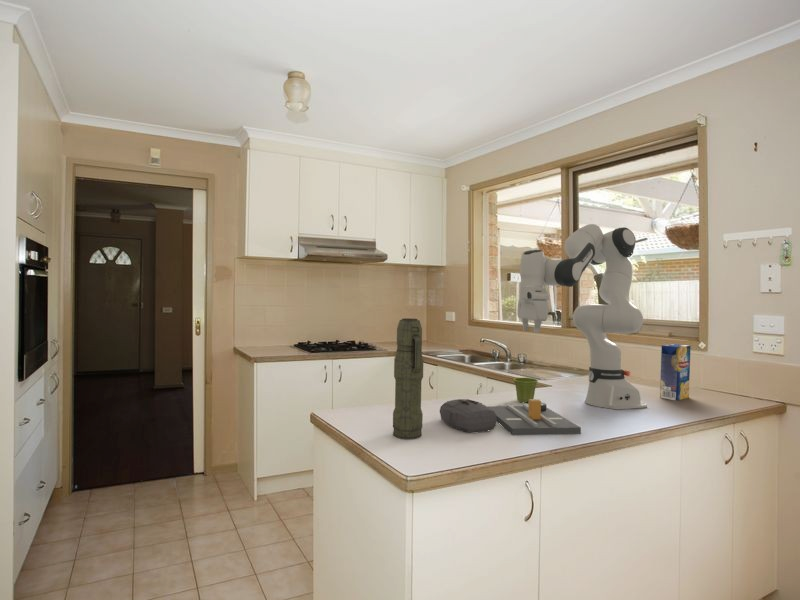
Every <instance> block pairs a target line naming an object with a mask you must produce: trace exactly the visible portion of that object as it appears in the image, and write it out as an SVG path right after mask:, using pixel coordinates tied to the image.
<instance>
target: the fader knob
mask: <svg viewBox="0 0 800 600" xmlns="http://www.w3.org/2000/svg"><path fill="white" fill-rule="evenodd" d="M541 402H542V401H541V400H540V399H539V398H534V399H529V403H527V405H528V417H529V418H530V419H532V420H540V419H541Z"/></svg>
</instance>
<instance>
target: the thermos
mask: <svg viewBox="0 0 800 600" xmlns="http://www.w3.org/2000/svg"><path fill="white" fill-rule="evenodd" d="M422 343H423V327H422V323H421V320H419V319H418V318H405V317H404V318H401V319H400V320H399V321H398V324H397V328H396V346H397V347H396V353H395V357H394V359H393V361H394V362H393V377H394V380H395V387H394V388H395V389H394V391H395V392H394V410H393V412H392V429H393V430H392V436H393V437H394V438H397V439H400V440H416V439H419V438H421V437H422V433H423V432H422V429H423V415H424V414H423V411H422V381H423V378H424V357H423V352H422V351H423V350H422V347H423V346H422V345H423V344H422Z"/></svg>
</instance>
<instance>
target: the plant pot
mask: <svg viewBox="0 0 800 600" xmlns="http://www.w3.org/2000/svg"><path fill="white" fill-rule="evenodd" d="M513 381H514V385H515V390H516V400H517V402H519V401H520V403H523V402H524V403H527V404H529V399H535V398H534V397H535V392H536V386H537V384H538V382H539V380H538V379H536V378H533V377H515V378H513Z"/></svg>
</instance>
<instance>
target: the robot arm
mask: <svg viewBox="0 0 800 600" xmlns="http://www.w3.org/2000/svg"><path fill="white" fill-rule="evenodd" d="M636 244H637V243H636V237H635V234H634V232H633V231H632V230H631V229H629V228H627V227H626V226H625V227H618V228H615V229H614V230H611V231H609V232H606V233H604V231H603V229H602V227H600V226H599V225H597V224H594V223H590V224H586V225H584V226H582V227H579V228H578V229H577V230H575V231H574V232H572V234H570V235H569V236H568V237H567V238H566V239H565V242H564V252H565V254H566V255H567V257H568V258H563V259H560V258H559V259H550V258H548V257H546V256H545V253H544V250H541V249H532V250H530V249H529V250H526V251H524V252H522V255H521V258H520V265H519V267H520V268H519V275H520V283H519V298H518V300H517V302H518V303H517V310H516V311H517V317H518V318H520V319H521V323H522V330H523V331H524V332H525V331H526V332H527V331H528V332H529V331H530V326H529V320H530V321H533V324H534V327H533V328H532V332H533V333H534V334H539V333H540V328H541V325H542V322H546V321H547V320H548V317H549V316H548V314H549V302H548V301H549V300H550V293H549V292H547V290H546V289H545V286H559V287H560V286H561V287H569V288H570V287H574V286H575V285H577V284H578V282H579V281H580V279H581V277H582V275H583V273H584V272H585V270H586V269H587V268H588V267H589V265H592V266H597V265H603V264H604V263H605V270H604V271H603V276H602V278H601V282H600V286H599V289H598V295H599V296H600V298H601V300H603V301H604V302H605V303H606V304H598V303H597V304H594V303H590V304H582V305H579V306H578V305H577V307H576V308H575V310H574V311H573V314H572V321H573V324H574V326H575V328H577V329H578V330H579V331H580V332H581V333H582V334H583V335H584V336H585V338H586V340H587V343H588V345H589V350H590V351H589V354H590V355H589V357H590V361H589V362H590V364H589V367H588V387H587V388H588V390H587V393H586V397H585V399H584V403H586V404H587V405H591V406H594V407H600V408H607V409H613V410H628V409H642V408H643V409H645V408H647V407H648V405H647V403H646V402H645V401H642V400H641V393H640V390H639V389H638V388H637V387H636V386H634V385H633V384H632V383H631V382H630V381H629V380H627V379H626V377H630V376H631V371H630V370H627V369H625V370H624V369H622V368H621V367H622V350H621V348H620V347H619V345H618V344H616V343H614V342H612V341H611V340H609V338H608V337H607V334H617V335H618V334H620V335H624V334H625V335H626V334H627V335H628V334H634V333H635V334H636V333H637V332H639V331H640V329H642V327H643V324H644V316H643V314H642V312H641V310H640V309H639V308H638V307H636V306H635V305H634V304H633V303H632V302H631V300H630V292H631V291H630V290H631V286H632V281H633V275H634V272H633V271H634V269H633V268H634V267H633V262H632V261H631V260H630V259H629V258H630V257H631V256H632V255H633V254H634V250H635V247H636Z"/></svg>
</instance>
